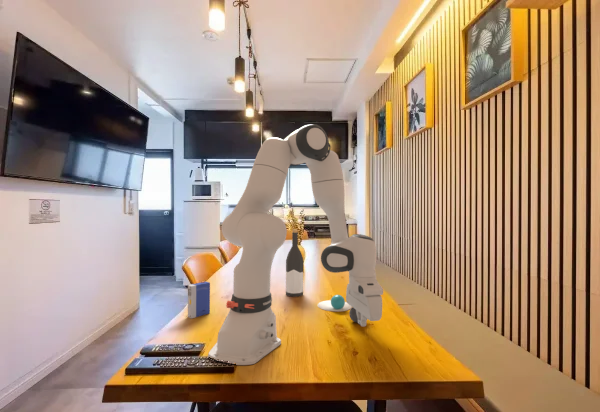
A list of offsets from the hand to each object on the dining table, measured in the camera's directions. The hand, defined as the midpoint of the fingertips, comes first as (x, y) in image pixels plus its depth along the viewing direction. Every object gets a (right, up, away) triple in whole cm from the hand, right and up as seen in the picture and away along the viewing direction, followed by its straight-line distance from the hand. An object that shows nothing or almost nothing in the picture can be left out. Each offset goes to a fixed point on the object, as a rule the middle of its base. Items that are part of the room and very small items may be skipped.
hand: (361, 324), depth 109 cm
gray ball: (0, +1, +7) cm, 7 cm away
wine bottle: (-23, -1, +41) cm, 47 cm away
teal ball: (-6, +1, +21) cm, 22 cm away
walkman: (-58, -1, +13) cm, 60 cm away
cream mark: (-6, -1, +25) cm, 26 cm away
